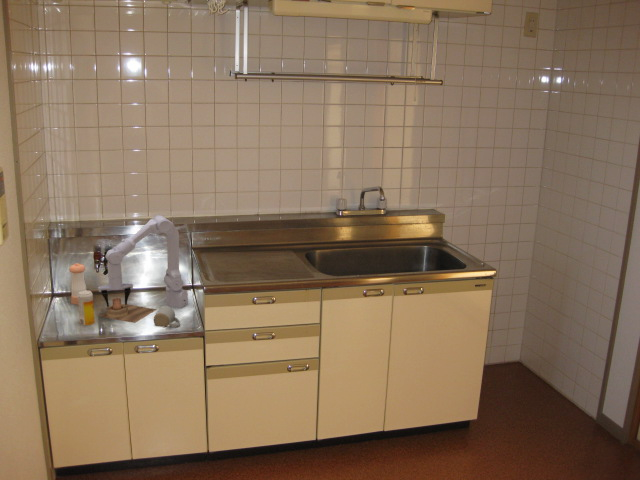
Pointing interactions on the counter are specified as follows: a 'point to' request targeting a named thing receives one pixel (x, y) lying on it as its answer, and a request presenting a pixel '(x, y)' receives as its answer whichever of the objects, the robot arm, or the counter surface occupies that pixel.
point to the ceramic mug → (165, 317)
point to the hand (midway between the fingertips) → (116, 305)
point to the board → (133, 313)
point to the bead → (117, 311)
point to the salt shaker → (77, 281)
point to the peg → (117, 304)
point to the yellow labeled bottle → (86, 307)
